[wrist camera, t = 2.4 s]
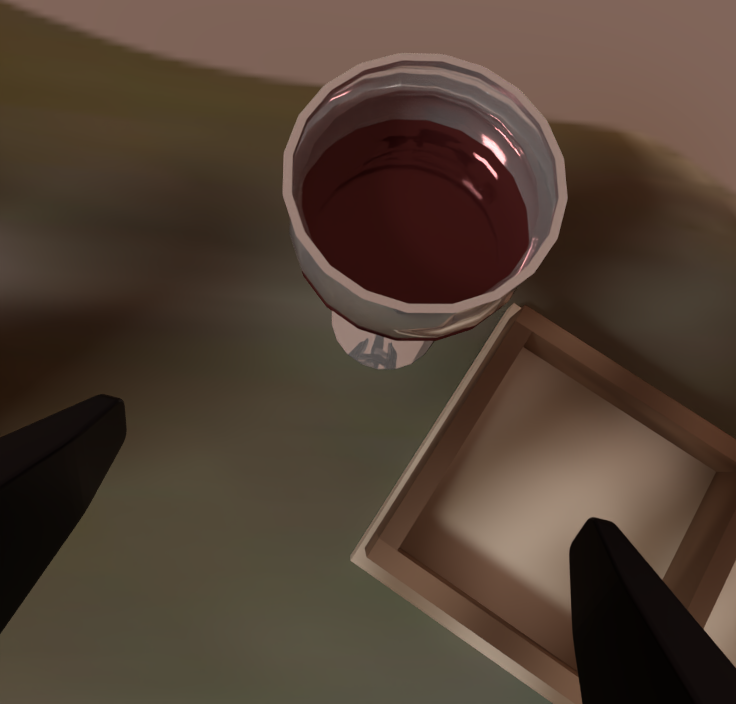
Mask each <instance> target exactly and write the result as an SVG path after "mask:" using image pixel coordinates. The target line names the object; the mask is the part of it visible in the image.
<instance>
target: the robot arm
mask: <svg viewBox="0 0 736 704" xmlns="http://www.w3.org/2000/svg"><path fill="white" fill-rule="evenodd" d="M125 437H126V417H125V405H124V402H123V400H122V399H120V398H117V397H113V396H109V395H105V394H100V395H96V396H94V397H92V398H89V399H87V400H85V401H83V402H80V403H78V404H76V405H73V406H71V407H69V408H67V409H64V410H62V411H60V412H58V413H55V414H53V415H51V416H48V417H46V418H44V419H42V420H39V421H37V422H35V423H32V424H30V425H28V426H26V427H23V428H21V429H19V430H17V431H14V432H12V433H10V434H7V435H5V436H3V437H1V438H0V634H1V632H2V631H3V629H4V628H5V626H6V625H7V624H8V622H9V621H10V619H11V618H12V616H13V615H14V614H15V612H16V611H17V609H18V608H19V606H20V605H21V604H22V602H23V601H24V599H25V598H26V596H27V595H28V594H29V592H30V591H31V589H32V588H33V586H34V585H35V584H36V582H37V581H38V579H39V578H40V576H41V575H42V574H43V572H44V571H45V569H46V568H47V566H48V565H49V564H50V562H51V561H52V559H53V558H54V556H55V555H56V554H57V552H58V551H59V549H60V548H61V546H62V545H63V543H64V542H65V541H66V539H67V538H68V536H69V535H70V533H71V532H72V531H73V529H74V528H75V526H76V525H77V523H78V522H79V520H80V519H81V517H82V516H83V514H84V513H85V511H86V510H87V508H88V506H89V504H90V503H91V501H92V499H93V497H94V496H95V494H96V492H97V490H98V488H99V486H100V485H101V483H102V481H103V479H104V477H105V475H106V474H107V472H108V470H109V468H110V466H111V464H112V463H113V461H114V459H115V457H116V455H117V454H118V452H119V450H120V448H121V446H122V444H123V442H124V440H125ZM569 568H570V594H571V620H572V635H573V643H574V651H575V658H576V664H577V671H578V678H579V685H580V691H581V698H582V704H736V667H735V666H734V665H733V664H732V663H731V661H730V660H729V659H728V658H727V657H726V655H725V654H724V653H723V652H722V651H721V649H720V648H719V647H718V646H717V645H716V643H715V642H714V641H713V640H712V639H711V637H710V636H709V635H708V634H707V633H706V631H705V630H704V629H703V628H702V627H701V626H700V624H699V623H698V622H697V621H696V620H695V618H694V617H693V616H692V615H691V614H690V612H689V611H688V610H687V609H686V608H685V606H684V605H683V604H682V603H681V602H680V600H679V599H678V598H677V597H676V596H675V594H674V593H673V592H672V591H671V590H670V589H669V587H668V586H667V585H666V584H665V583H664V581H663V580H662V579H661V578H660V577H659V575H658V574H657V573H656V572H655V571H654V569H653V568H652V567H651V566H650V565H649V563H648V562H647V561H646V560H645V559H644V557H643V556H642V555H641V554H640V553H639V551H638V550H637V549H636V548H635V547H634V546H633V544H632V543H631V542H630V541H629V540H628V538H627V537H626V536H625V535H624V534H623V532H622V531H621V530H620V529H619V528H618V526H617V525H616V524H615V523H613V522H611V521H608V520H604V519H600V518H596V517H591V518H589V519H588V520H587V521H586V522H585V524H584V525H583V527H582V528H581V529H580V531H579V532H578V534H577V535H576V537H575V538H574V540H573V541H572V543H571V546H570V549H569Z"/></svg>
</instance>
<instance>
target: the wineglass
mask: <svg viewBox="0 0 736 704" xmlns="http://www.w3.org/2000/svg"><path fill="white" fill-rule="evenodd" d="M283 197H284V200H285V203H286V206H287V209H288V212H289V215H290V223H289V234H290V237H291V240H292V243H293V246H294V249H295V252H296V255H297V258H298V261H299V264H300V267H301V270H302V273H303V276H304V277H305V279H306V280H307V281H308V283H309V284H310V285H311V287H312V288H313V289H314V291H315V292H316V293H317V295H318V296H319V297H320V299H321V300H322V301H323V303H324V304H325V305H326V307H328V308H329V309H331V310H332V326H333V329H334V332H335V335H336V338H337V341H338V342H339V343H340V345H341V346H342V347H343V349H344V350H345V351H346V353H347V354H348V355H350V356H351V357H352V358H354V359H355V360H357V361H358V362H360V363H361V364H364V365H367V366H370V367H373V368H376V369H397V368H400V367H403V366H406V365H409V364H412V363H413V362H414V361H416V360H417V359H418V358H420V357H421V356H423V355H424V354H425V353H426V351H427V350H428V349H429V347H430V346H431V344H432V343H433V341H437V340H440V339H443V338H446V337H449V336H452V335H455V334H458V333H461V332H464V331H468V330H471V329H473V328H474V327H475V326H477V325H478V324H479V323H481V322H482V321H483V320H485V319H486V318H488V317H489V316H490V315H492V314H493V313H494V312H496V311H497V310H498V309H500V308H501V307H502V306H503V305H504V304H506V303H507V302H508V301H509V300H510V298H511V297H512V295H513V294H514V292H515V291H516V289H517V288H518V287H519V285H520V284H521V282H523V281H524V280H525V279H527V278H528V277H529V276H531V275H532V274H534V272H535V271H536V270H537V268H538V267H539V265H540V264H541V262H542V261H543V259H544V258H545V256H546V255H547V253H548V252H549V250H550V249H551V247H552V246H553V244H554V243H555V242H556V240H557V239H558V235H559V231H560V227H561V223H562V219H563V215H564V211H565V207H566V203H567V199H568V196H567V186H566V176H565V165H564V157H563V155H562V153H561V151H560V148H559V146H558V144H557V142H556V139H555V137H554V135H553V133H552V131H551V128H550V126H549V124H548V122H547V120H546V119H545V118H544V117H543V115H542V114H541V113H540V112H539V111H538V110H537V109H536V108H535V106H534V105H533V104H532V103H531V102H530V101H529V99H528V98H527V97H526V96H525V95H524V94H523V93H522V92H521V90H520V89H518V88H517V87H515V86H514V85H512V84H510V83H509V82H507V81H506V80H504V79H503V78H501V77H499V76H498V75H496V74H495V73H493V72H492V71H490V70H488V69H487V68H485V67H484V66H480V65H477V64H474V63H471V62H467V61H464V60H461V59H458V58H454V57H450V56H448V55H444V54H421V53H418V54H417V53H399V54H395V55H391V56H387V57H383V58H379V59H375V60H371V61H367V62H364V63H360V64H358V65H357V66H355V67H353V68H352V69H350V70H348V71H347V72H345V73H343V74H342V75H340V76H339V77H337V78H335V79H334V80H332V81H331V82H329V83H327V84H325V85H324V86H323V88H322V89H321V90H320V91H319V92H318V93H317V95H316V96H315V97H314V98H313V99H312V100H311V102H310V103H309V104H308V105H307V106H306V107H305V108H304V110H303V111H302V112H301V113H300V114H299V116H298V118H297V121H296V123H295V126H294V128H293V131H292V133H291V136H290V139H289V141H288V144H287V146H286V149H285V151H284V163H283Z"/></svg>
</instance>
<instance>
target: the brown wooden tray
mask: <svg viewBox="0 0 736 704" xmlns="http://www.w3.org/2000/svg"><path fill="white" fill-rule="evenodd" d="M591 517H596V518H600V519H604V520H608V521H611V522H613V523H615V524H616V525H617V526H618V528H619V529H620V530H621V531H622V532H623V534H624V535H625V536H626V537H627V538H628V540H629V541H630V542H631V543H632V544H633V546H634V547H635V548H636V549H637V550H638V551H639V553H640V554H641V555H642V556H643V557H644V559H645V560H646V561H647V562H648V563H649V565H650V566H651V567H652V568H653V569H654V571H655V572H656V573H657V574H658V575H659V577H660V578H661V579H662V580H663V581H664V583H665V584H666V585H667V586H668V587H669V589H670V590H671V591H672V592H673V593H674V594H675V596H676V597H677V598H678V599H679V600H680V602H681V603H682V604H683V605H684V606H685V608H686V609H687V610H688V611H689V612H690V614H691V615H692V616H693V617H694V618H695V620H696V621H697V622H698V623H699V624H700V626H701V627H702V628H703V629H704V630H705V631H706V633H707V634H708V635H709V636H710V637H711V639H712V640H713V641H714V642H715V643H716V645H717V646H718V647H719V648H720V649H721V651H722V652H723V653H724V654H725V655H726V657H727V658H728V659H729V660H730V661H731V663H732V664H733V665H734V666H735V667H736V439H734V438H733V437H731V436H730V435H728V434H727V433H725V432H723V431H722V430H720V429H719V428H717V427H716V426H714V425H713V424H711V423H709V422H708V421H706V420H705V419H703V418H702V417H700V416H698V415H697V414H695V413H694V412H692V411H691V410H689V409H687V408H686V407H684V406H683V405H681V404H680V403H678V402H677V401H675V400H673V399H672V398H670V397H669V396H667V395H666V394H664V393H662V392H661V391H659V390H658V389H656V388H655V387H653V386H652V385H650V384H648V383H647V382H645V381H644V380H642V379H641V378H639V377H637V376H636V375H634V374H633V373H631V372H630V371H628V370H627V369H625V368H623V367H622V366H620V365H619V364H617V363H616V362H614V361H612V360H611V359H609V358H608V357H606V356H605V355H603V354H602V353H600V352H598V351H597V350H595V349H594V348H592V347H591V346H589V345H587V344H586V343H584V342H583V341H581V340H580V339H578V338H576V337H575V336H573V335H572V334H570V333H569V332H567V331H566V330H564V329H562V328H561V327H559V326H558V325H556V324H555V323H553V322H551V321H550V320H548V319H547V318H545V317H544V316H542V315H541V314H539V313H537V312H536V311H534V310H533V309H531V308H530V307H528V306H526V305H525V306H523V307H522V308H521V307H519V306H518V305H516V304H515V303H513V304H512V305H511V306H510V307H509V308H508V309H507V310H506V312H505V313H504V315H503V316H502V318H501V320H500V321H499V323H498V324H497V326H496V327H495V329H494V331H493V332H492V334H491V335H490V337H489V338H488V340H487V342H486V343H485V345H484V346H483V348H482V349H481V351H480V353H479V354H478V356H477V357H476V359H475V360H474V362H473V364H472V365H471V367H470V368H469V370H468V372H467V373H466V375H465V376H464V378H463V379H462V381H461V383H460V384H459V386H458V387H457V389H456V390H455V392H454V394H453V395H452V397H451V398H450V400H449V401H448V403H447V405H446V406H445V408H444V409H443V411H442V412H441V414H440V416H439V417H438V419H437V420H436V422H435V423H434V425H433V427H432V428H431V430H430V431H429V433H428V434H427V436H426V438H425V439H424V441H423V442H422V444H421V445H420V447H419V449H418V450H417V452H416V453H415V455H414V456H413V458H412V460H411V461H410V463H409V464H408V466H407V467H406V469H405V471H404V472H403V474H402V475H401V477H400V478H399V480H398V482H397V483H396V485H395V486H394V488H393V489H392V491H391V493H390V494H389V496H388V497H387V499H386V500H385V502H384V504H383V505H382V507H381V508H380V510H379V511H378V513H377V515H376V516H375V518H374V519H373V521H372V522H371V524H370V526H369V527H368V529H367V530H366V532H365V533H364V535H363V537H362V538H361V540H360V541H359V543H358V545H357V546H356V548H355V549H354V551H353V552H352V554H351V556H350V559H351V561H352V562H353V563H355V564H356V565H358V566H359V567H361V568H362V569H363V570H365V571H366V572H368V573H369V574H370V575H372V576H373V577H375V578H376V579H378V580H379V581H380V582H382V583H383V584H385V585H386V586H387V587H389V588H390V589H392V590H393V591H395V592H396V593H397V594H399V595H400V596H402V597H403V598H404V599H406V600H407V601H409V602H410V603H412V604H413V605H414V606H416V607H417V608H419V609H420V610H421V611H423V612H424V613H426V614H427V615H429V616H430V617H431V618H433V619H434V620H436V621H437V622H438V623H440V624H441V625H443V626H444V627H446V628H447V629H448V630H450V631H451V632H453V633H454V634H455V635H457V636H458V637H460V638H461V639H463V640H464V641H465V642H467V643H468V644H470V645H471V646H472V647H474V648H475V649H477V650H478V651H480V652H481V653H482V654H484V655H485V656H487V657H488V658H489V659H491V660H492V661H494V662H495V663H497V664H498V665H499V666H501V667H502V668H504V669H505V670H506V671H508V672H509V673H511V674H512V675H514V676H515V677H516V678H518V679H519V680H521V681H522V682H523V683H525V684H526V685H528V686H529V687H531V688H532V689H533V690H535V691H536V692H538V693H539V694H540V695H542V696H543V697H545V698H546V699H548V700H549V701H550V702H552V703H553V704H582V698H581V691H580V685H579V678H578V671H577V664H576V658H575V651H574V643H573V635H572V620H571V594H570V568H569V549H570V546H571V543H572V541H573V540H574V538H575V537H576V535H577V534H578V532H579V531H580V529H581V528H582V527H583V525H584V524H585V522H586V521H587V520H588V519H589V518H591Z"/></svg>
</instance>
